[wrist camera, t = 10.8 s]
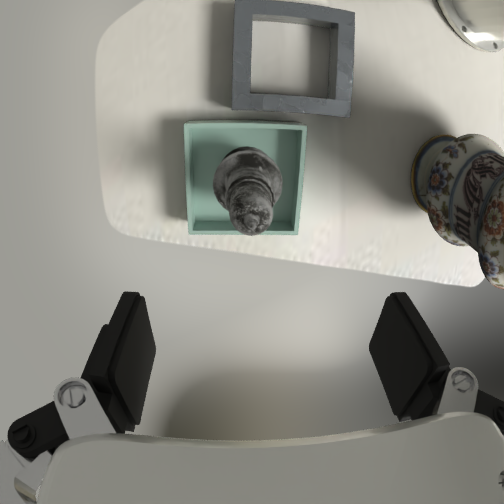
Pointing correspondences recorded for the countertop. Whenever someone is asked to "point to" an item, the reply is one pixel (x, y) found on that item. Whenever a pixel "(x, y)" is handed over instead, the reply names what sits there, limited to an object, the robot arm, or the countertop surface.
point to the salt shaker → (248, 188)
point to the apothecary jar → (464, 195)
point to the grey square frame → (264, 9)
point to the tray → (213, 152)
